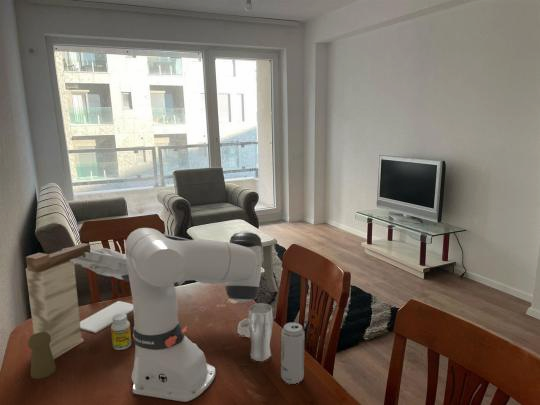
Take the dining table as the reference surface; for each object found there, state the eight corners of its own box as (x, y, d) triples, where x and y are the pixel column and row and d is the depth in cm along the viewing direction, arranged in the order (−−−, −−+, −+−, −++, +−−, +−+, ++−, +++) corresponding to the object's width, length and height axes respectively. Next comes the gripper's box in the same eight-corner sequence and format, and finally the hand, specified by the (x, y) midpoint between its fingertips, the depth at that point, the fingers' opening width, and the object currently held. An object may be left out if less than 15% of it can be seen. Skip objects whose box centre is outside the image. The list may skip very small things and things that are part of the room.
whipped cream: (261, 340, 122) (262, 326, 121) (240, 342, 120) (242, 328, 119) (253, 326, 130) (255, 313, 128) (234, 328, 127) (235, 315, 126)
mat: (139, 307, 142) (139, 305, 142) (95, 333, 124) (95, 331, 124) (118, 302, 146) (118, 300, 146) (73, 326, 128) (73, 325, 128)
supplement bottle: (129, 339, 121) (127, 310, 119) (133, 347, 116) (131, 317, 115) (111, 344, 118) (108, 315, 116) (114, 352, 114) (112, 322, 112)
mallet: (91, 252, 122) (90, 240, 122) (37, 272, 106) (35, 258, 105) (82, 251, 124) (81, 239, 123) (27, 270, 107) (25, 256, 107)
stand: (83, 341, 119) (75, 261, 114) (53, 359, 110) (43, 273, 105) (64, 335, 123) (55, 257, 118) (32, 352, 113) (22, 269, 108)
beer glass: (277, 353, 113) (277, 306, 110) (264, 366, 107) (264, 316, 104) (257, 346, 117) (257, 300, 114) (243, 358, 111) (243, 310, 108)
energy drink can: (279, 372, 105) (279, 321, 102) (301, 370, 105) (302, 320, 102) (282, 387, 99) (283, 333, 96) (305, 385, 99) (306, 332, 97)
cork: (37, 381, 101) (33, 343, 98) (26, 373, 104) (21, 336, 102) (60, 369, 106) (56, 332, 103) (48, 362, 109) (44, 326, 107)
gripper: (126, 275, 126) (95, 267, 114) (81, 266, 134) (47, 258, 122) (132, 257, 128) (102, 247, 116) (87, 249, 136) (54, 239, 124)
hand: (74, 252), depth 119 cm, fingers open, 8 cm apart
